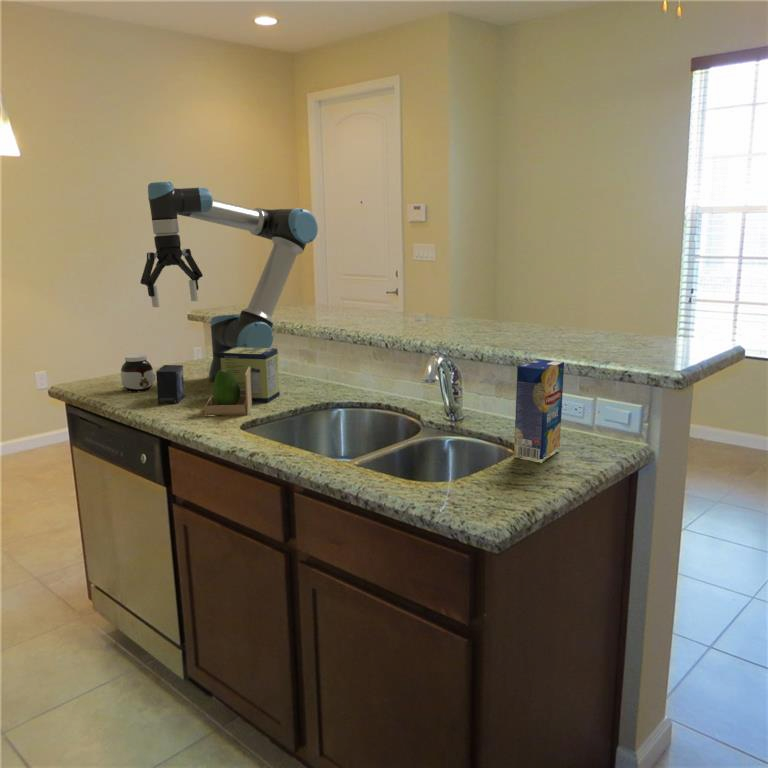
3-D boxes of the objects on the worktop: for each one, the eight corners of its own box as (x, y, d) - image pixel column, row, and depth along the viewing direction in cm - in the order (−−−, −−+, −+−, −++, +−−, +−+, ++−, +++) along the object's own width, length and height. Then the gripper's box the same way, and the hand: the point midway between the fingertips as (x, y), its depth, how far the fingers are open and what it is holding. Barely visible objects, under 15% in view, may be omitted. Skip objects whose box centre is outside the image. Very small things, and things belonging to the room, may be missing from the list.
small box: (178, 404, 218) (176, 370, 216) (157, 404, 217) (154, 371, 215) (186, 396, 228) (183, 364, 226) (165, 396, 228) (163, 364, 225)
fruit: (246, 407, 211) (244, 367, 208) (228, 413, 204) (226, 372, 202) (226, 404, 215) (224, 365, 212) (208, 409, 208) (205, 370, 206)
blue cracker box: (559, 451, 170) (564, 361, 165) (541, 463, 162) (545, 369, 157) (533, 446, 174) (537, 358, 169) (513, 458, 165) (517, 366, 161)
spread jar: (125, 394, 231) (122, 359, 229) (118, 387, 241) (115, 353, 238) (162, 389, 237) (159, 355, 235) (154, 383, 247) (151, 350, 244)
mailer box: (210, 406, 215) (208, 367, 212) (252, 405, 216) (250, 366, 213) (205, 416, 203) (202, 375, 201) (248, 415, 205) (246, 374, 202)
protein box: (235, 393, 231) (232, 346, 228) (280, 395, 228) (278, 348, 225) (221, 401, 221) (218, 352, 218) (268, 403, 218) (266, 353, 215)
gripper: (195, 232, 226) (203, 297, 232) (122, 237, 209) (132, 309, 214) (208, 231, 221) (216, 299, 227) (134, 237, 204) (145, 310, 209)
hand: (175, 304), depth 220 cm, fingers open, 13 cm apart
